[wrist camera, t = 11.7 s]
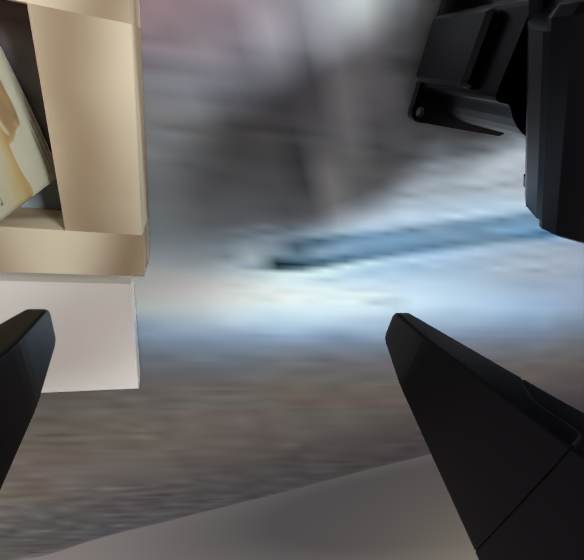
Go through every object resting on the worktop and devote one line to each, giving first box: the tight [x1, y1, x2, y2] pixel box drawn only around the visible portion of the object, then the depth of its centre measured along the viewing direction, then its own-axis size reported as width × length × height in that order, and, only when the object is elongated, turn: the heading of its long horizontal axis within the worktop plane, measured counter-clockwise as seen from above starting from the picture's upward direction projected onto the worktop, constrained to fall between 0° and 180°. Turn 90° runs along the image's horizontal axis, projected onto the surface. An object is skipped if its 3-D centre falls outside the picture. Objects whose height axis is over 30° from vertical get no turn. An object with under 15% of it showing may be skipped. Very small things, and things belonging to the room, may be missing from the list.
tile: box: [0, 272, 140, 393], centre depth 22 cm, size 12×9×1 cm
